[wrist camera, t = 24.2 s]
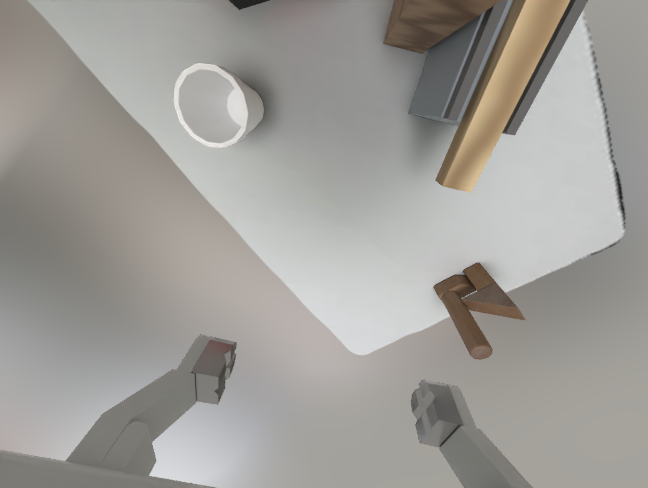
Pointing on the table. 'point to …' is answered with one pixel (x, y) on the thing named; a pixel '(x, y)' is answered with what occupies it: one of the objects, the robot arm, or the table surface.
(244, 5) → the cleaning product box
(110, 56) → the table surface
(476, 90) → the slat
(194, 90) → the foam cup
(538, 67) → the grey box
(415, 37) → the brown wooden plank
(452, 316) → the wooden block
